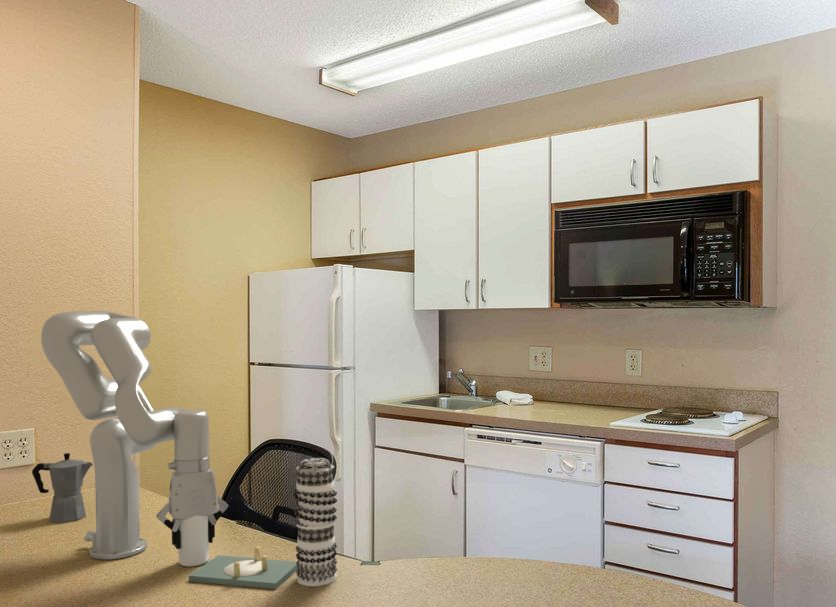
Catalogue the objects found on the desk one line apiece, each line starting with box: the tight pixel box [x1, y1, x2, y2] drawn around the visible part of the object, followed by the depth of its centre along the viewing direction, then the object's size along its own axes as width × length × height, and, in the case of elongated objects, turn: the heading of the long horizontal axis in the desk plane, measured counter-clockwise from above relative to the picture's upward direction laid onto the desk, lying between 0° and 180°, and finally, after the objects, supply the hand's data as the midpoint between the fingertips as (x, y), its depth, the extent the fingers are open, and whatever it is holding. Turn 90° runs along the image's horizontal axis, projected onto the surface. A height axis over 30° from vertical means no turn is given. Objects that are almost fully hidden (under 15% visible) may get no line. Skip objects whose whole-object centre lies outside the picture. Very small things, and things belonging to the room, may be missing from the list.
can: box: [178, 516, 210, 568], centre depth 157 cm, size 6×6×12 cm
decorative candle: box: [292, 457, 338, 587], centre depth 147 cm, size 9×9×25 cm
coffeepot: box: [31, 452, 94, 524], centre depth 192 cm, size 15×9×18 cm, turn 103°
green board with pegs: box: [188, 546, 297, 590], centre depth 150 cm, size 20×12×4 cm, turn 76°
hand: (193, 543), depth 157 cm, fingers closed on can, 6 cm apart
